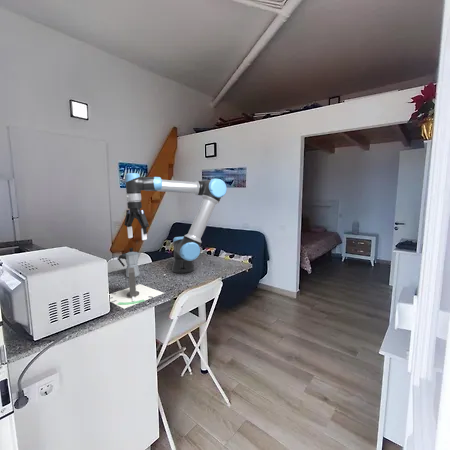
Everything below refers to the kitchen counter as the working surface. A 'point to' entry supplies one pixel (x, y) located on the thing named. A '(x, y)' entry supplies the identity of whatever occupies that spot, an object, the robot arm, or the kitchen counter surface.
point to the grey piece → (132, 284)
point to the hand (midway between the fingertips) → (137, 238)
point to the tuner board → (144, 294)
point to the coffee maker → (130, 261)
